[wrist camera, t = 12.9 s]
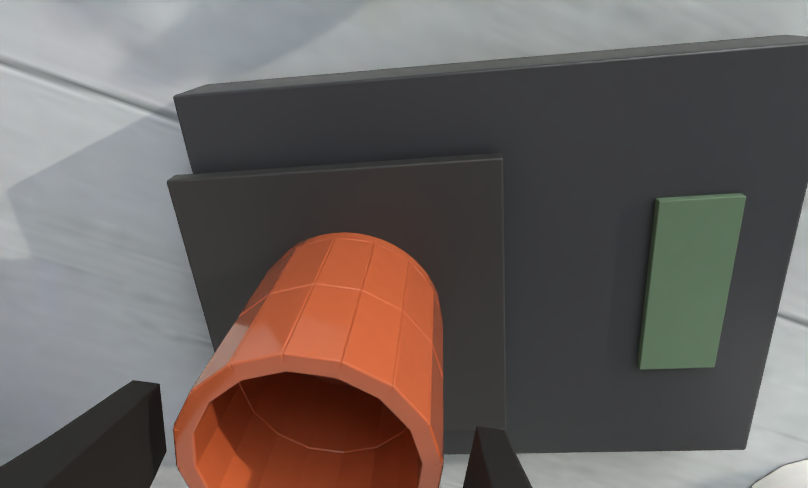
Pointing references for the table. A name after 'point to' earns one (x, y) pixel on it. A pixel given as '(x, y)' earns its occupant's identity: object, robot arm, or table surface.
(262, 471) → the orange faceted tumbler
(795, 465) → the foam cup
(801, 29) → the table surface
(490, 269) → the pan
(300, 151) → the scale housing
